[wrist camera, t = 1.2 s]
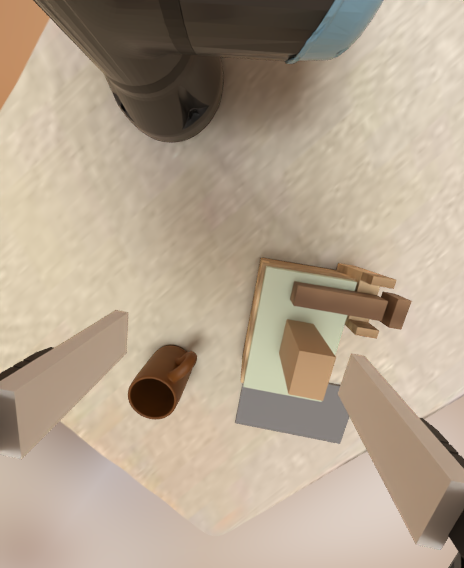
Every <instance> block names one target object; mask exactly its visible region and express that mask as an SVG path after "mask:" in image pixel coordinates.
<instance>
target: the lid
mask: <svg viewBox="0 0 464 568" xmlns="http://www.w3.org/2000/svg"><path fill="white" fill-rule="evenodd" d="M294 281H296V282H302V283H308V284H314V285H320V286H326V287H332V288H338V289H343V290H349V291H355V288H356V285H357V282H356V281H354V280H349V279H343V278H337V277H331V276H325V275H319V274H313V273H307V272H301V271H295V270H289V269H283V268H277V267H271V266H266V269H265V274H264V279H263V284H262V289H261V294H260V300H259V305H258V310H257V315H256V320H255V325H254V330H253V335H252V341H251V346H250V351H249V356H248V361H247V366H246V371H245V376H244V382H243V387H246V388H251V389H257V390H262V391H267V392H272V393H277V394H283V395H288V396H293V397H298V398H304V399H309V400H314V401H319V402H322V401H323V399H324V396H325V393H326V389H327V386H328V383H329V379H330V376H331V373H332V369H333V366H334V363H335V359H336V356H335V355H336V352H337V348H338V345H339V342H340V338H341V335H342V332H343V328H344V325H345V322H346V318H347V315H343V314H338V313H332V312H326V311H320V310H315V309H309V308H303V307H297V306H293V304H292V302H291V300H290V297H291V293H292V288H293V284H294Z"/></svg>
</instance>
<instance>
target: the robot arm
mask: <svg viewBox="0 0 464 568" xmlns="http://www.w3.org/2000/svg"><path fill="white" fill-rule="evenodd" d="M34 1H35V3H36V4H37V5H38V6H39V7H40V8H42V10H43V11H44V12H45V13H46V14H47V15H48V16H49V17H50V18H51V19H52V20H53V21H54V22H55V23H56V24H57V25H58V26H59V27H60V29H61V30H62V31H63V32H64V33H65V34H66V35H67V36H68V37H69V38H70V39H71V40H72V41H73V42H74V43H75V44H76V45H77V46H78V47H79V48H80V49H81V50H82V51H83V52H84V53H85V55H86V56H87V57H88V58H89V59H90V60H91V61H92V62H93V63H94V64H95V65H96V66H97V67H98V68H99V69H100V70H101V71H102V72H103V73H104V75H105V77H106V79H107V81H108V84H109V86H110V88H111V91H112V92H113V95H114V97H115V99H116V102H117V103H118V105H119V107H120V109H121V110H122V112H123V113H124V114H125V116H126V117H127V118H128V119H129V120H130V121H131V122H132V123H133V124H134V125H135V126H136V127H137V128H138V129H139V130H141V131H142V132H143V133H145V134H146V135H148V136H149V137H151V138H154V139H156V140H159V141H164V142H179V141H183V140H186V139H189V138H191V137H193V136H195V135H196V134H198V133H199V132H200V131H201V130H203V129H204V128H205V127H206V126H207V124H208V123H209V122H210V121H211V119H212V118H213V116H214V114H215V112H216V110H217V108H218V106H219V103H220V100H221V96H222V90H223V68H222V62H221V57H231V58H247V59H262V60H278V61H285V63H286V64H293V63H296V62H297V61H300V60H330V59H333V58H336V57H338V56H339V55H341V54H342V53H343V52H345V51H346V50H347V49H348V48H349V47H350V46H351V45H352V44H353V43H354V42H355V41H356V40H357V39H358V38H359V37H360V36H361V34H362V33H363V32H364V30H365V29H366V27H367V26H368V25H369V23H370V22H371V20H372V19H373V17H374V15H375V14H376V12H377V11H378V9H379V7H380V6H381V4H382V2H383V1H384V0H34ZM127 331H128V312H123V311H118V310H115V311H114V312H112V313H110V314H109V315H107V316H105V317H104V318H102V319H101V320H99V321H97V322H96V323H94V324H92V325H91V326H89V327H87V328H86V329H84V330H83V331H81V332H79V333H78V334H76V335H74V336H73V337H71V338H70V339H68V340H66V341H65V342H63V343H61V344H60V345H58V346H57V347H55V348H52V347H50V348H47V349H44V350H42V351H39V352H36V353H34V354H33V355H31V356H29V357H27V358H26V359H24V361H21V362H19V363H17V364H15V365H14V366H13V367H10V368H9V369H7V370H5V371H3V372H2V373H0V455H3V456H8V457H12V458H17V459H22V458H23V457H24V456H25V455H26V454H27V453H28V452H29V451H30V450H31V449H32V448H33V447H34V446H35V445H36V444H37V443H38V442H39V441H40V440H41V439H42V438H43V437H44V436H45V435H46V434H47V433H48V432H49V431H50V430H51V429H52V428H53V427H54V426H55V425H56V424H57V423H58V422H59V421H60V420H61V419H62V418H63V417H64V416H65V415H66V414H67V413H68V412H69V411H70V410H71V409H72V408H73V407H74V406H75V405H76V404H77V403H78V402H79V401H80V400H81V399H82V398H83V397H84V396H85V395H86V394H87V393H88V392H89V391H90V390H91V389H92V388H93V387H94V386H95V385H96V384H97V383H98V382H99V381H100V380H101V378H102V377H103V376H104V375H105V374H106V373H107V372H108V371H109V370H110V369H111V368H112V367H113V366H114V365H115V364H116V363H117V362H118V361H119V360H120V359H121V358H122V357H123V356H124V355H125V354H126V353H127ZM338 395H339V397H340V399H341V401H342V403H343V405H344V407H345V409H346V411H347V413H348V415H349V417H350V418H351V420H352V422H353V424H354V426H355V428H356V430H357V432H358V434H359V436H360V438H361V440H362V442H363V444H364V445H365V447H366V449H367V451H368V453H369V455H370V457H371V459H372V461H373V463H374V465H375V467H376V469H377V470H378V473H379V474H380V476H381V478H382V480H383V482H384V484H385V486H386V488H387V490H388V492H389V494H390V495H391V498H392V499H393V501H394V503H395V505H396V507H397V509H398V511H399V513H400V515H401V517H402V519H403V521H404V523H405V525H406V526H407V528H408V530H409V532H410V534H411V536H412V538H413V540H414V542H415V544H416V545H420V546H424V547H429V548H434V549H438V550H441V549H442V547H443V545H444V544H445V542H446V541H447V539H448V537H450V539H451V540H452V542H453V544H454V545H455V547H456V548H457V550H458V551H459V552H458V553H457V555H456V557H455V558H454V560H453V561H452V563H451V564H450V566H449V567H448V568H464V459H463V458H462V456H460V455H458V452H457V451H456V450H455V449H454V448H453V447H452V446H451V445H449V442H448V441H447V440H446V439H445V438H444V437H443V436H442V435H441V434H440V433H439V431H438V430H437V429H435V428H434V427H433V426H432V425H430V424H429V423H428V422H427V421H425V420H424V419H423V418H419V417H418V416H417V415H416V414H415V413H414V412H413V410H412V409H411V408H410V407H409V406H408V405H407V404H406V402H405V401H404V400H403V399H402V398H401V397H400V396H399V394H398V393H397V392H396V391H395V390H394V389H393V388H392V387H391V385H390V384H389V383H388V382H387V381H386V380H385V379H384V377H383V376H382V375H381V374H380V373H379V372H378V371H377V369H376V368H375V367H374V366H373V365H372V364H371V363H370V361H369V360H368V359H367V358H366V357H365V356H362V355H356V354H351V355H350V358H349V361H348V364H347V367H346V370H345V373H344V376H343V379H342V382H341V385H340V388H339V391H338Z"/></svg>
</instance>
